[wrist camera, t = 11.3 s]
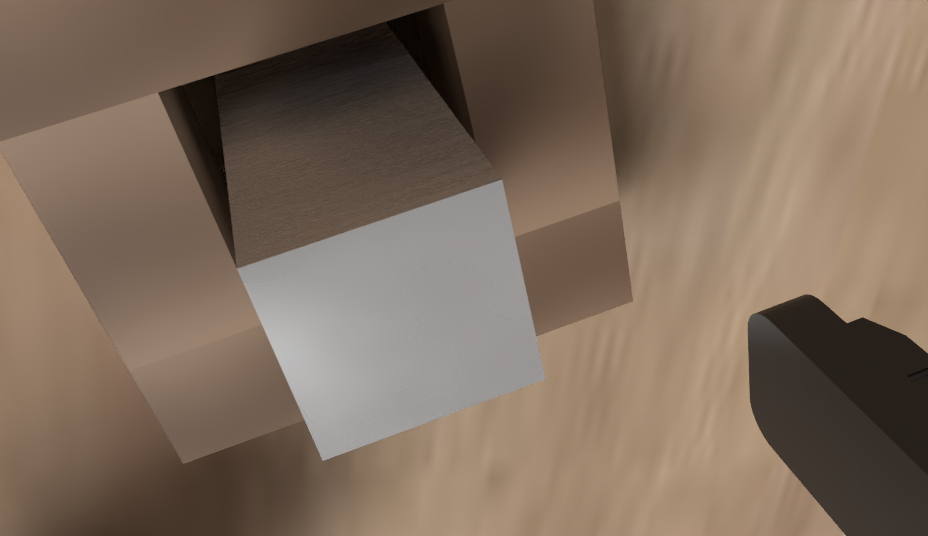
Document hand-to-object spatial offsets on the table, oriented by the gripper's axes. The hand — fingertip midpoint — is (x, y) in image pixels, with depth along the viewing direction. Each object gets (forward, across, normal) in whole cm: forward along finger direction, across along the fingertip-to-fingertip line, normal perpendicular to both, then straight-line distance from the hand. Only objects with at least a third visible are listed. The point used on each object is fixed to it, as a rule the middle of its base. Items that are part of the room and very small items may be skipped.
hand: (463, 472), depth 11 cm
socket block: (+13, 0, 0) cm, 13 cm away
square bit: (+13, 0, 0) cm, 13 cm away
